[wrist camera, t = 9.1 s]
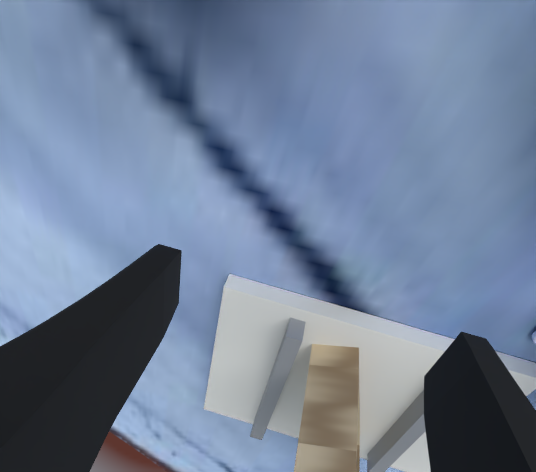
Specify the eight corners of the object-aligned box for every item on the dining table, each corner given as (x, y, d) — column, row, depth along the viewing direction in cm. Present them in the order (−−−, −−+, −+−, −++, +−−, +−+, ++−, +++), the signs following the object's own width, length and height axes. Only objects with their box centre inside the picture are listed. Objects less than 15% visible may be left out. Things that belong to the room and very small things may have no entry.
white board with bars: (538, 363, 23) (555, 404, 21) (424, 463, 33) (427, 497, 31) (229, 273, 24) (216, 304, 22) (208, 396, 34) (197, 425, 32)
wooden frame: (358, 347, 24) (355, 486, 18) (359, 434, 30) (357, 559, 24) (312, 344, 25) (293, 475, 19) (322, 429, 31) (311, 549, 25)
